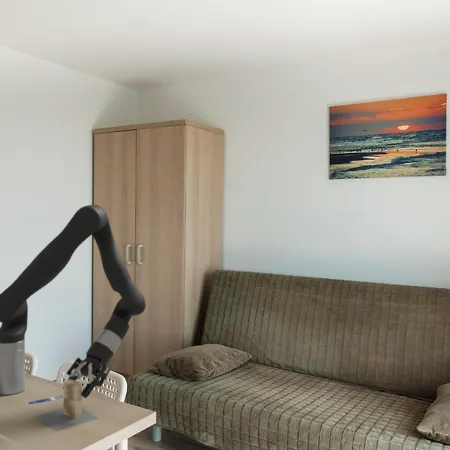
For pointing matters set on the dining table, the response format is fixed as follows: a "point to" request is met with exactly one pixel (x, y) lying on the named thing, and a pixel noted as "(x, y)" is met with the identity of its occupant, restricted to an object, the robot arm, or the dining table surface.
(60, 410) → the mat
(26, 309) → the robot arm
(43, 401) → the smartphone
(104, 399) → the dining table surface
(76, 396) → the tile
